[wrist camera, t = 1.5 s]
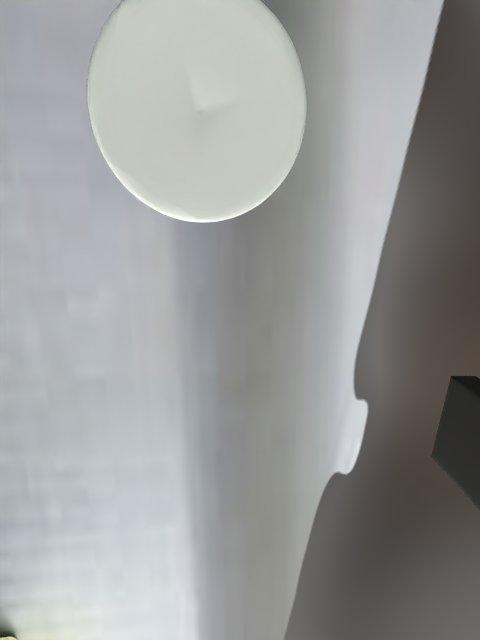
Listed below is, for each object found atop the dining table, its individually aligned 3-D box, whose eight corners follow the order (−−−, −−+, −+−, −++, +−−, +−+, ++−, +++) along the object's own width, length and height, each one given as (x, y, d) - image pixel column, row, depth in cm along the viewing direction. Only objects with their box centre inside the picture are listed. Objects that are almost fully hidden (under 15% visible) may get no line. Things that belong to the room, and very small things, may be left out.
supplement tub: (105, 106, 28) (24, 30, 14) (219, 45, 27) (253, -94, 14) (170, 227, 31) (157, 261, 17) (272, 174, 31) (341, 167, 17)
